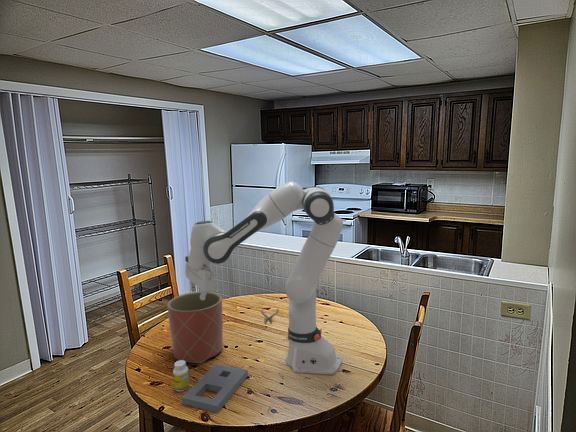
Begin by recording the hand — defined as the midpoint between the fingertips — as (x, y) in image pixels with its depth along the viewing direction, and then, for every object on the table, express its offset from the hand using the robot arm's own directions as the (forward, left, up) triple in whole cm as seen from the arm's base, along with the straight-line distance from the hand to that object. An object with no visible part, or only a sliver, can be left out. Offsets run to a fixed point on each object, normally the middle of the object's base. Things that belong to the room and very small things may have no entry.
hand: (197, 295), depth 145 cm
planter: (+8, -9, -30) cm, 32 cm away
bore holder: (-14, +12, -30) cm, 35 cm away
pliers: (-8, -53, -30) cm, 61 cm away
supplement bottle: (-1, +15, -30) cm, 34 cm away
